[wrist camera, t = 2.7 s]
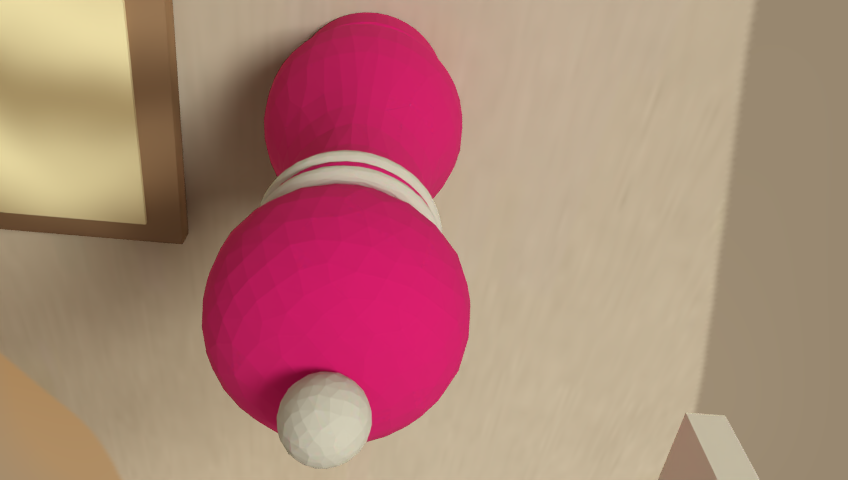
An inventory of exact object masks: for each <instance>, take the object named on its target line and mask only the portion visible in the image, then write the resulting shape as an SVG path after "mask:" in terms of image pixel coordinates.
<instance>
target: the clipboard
mask: <svg viewBox="0 0 848 480" xmlns="http://www.w3.org/2000/svg"><path fill="white" fill-rule="evenodd" d="M0 229H8V230H20V231H32V232H44V233H56V234H67V235H79V236H91V237H103V238H115V239H127V240H139V241H151V242H163V243H175V244H183V242H184V240H185V238H186V236H187V235H188V222H187V208H186V193H185V178H184V164H183V149H182V134H181V120H180V105H179V91H178V76H177V61H176V47H175V32H174V18H173V3H172V0H0Z"/></svg>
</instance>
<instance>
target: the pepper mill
mask: <svg viewBox="0 0 848 480" xmlns="http://www.w3.org/2000/svg"><path fill="white" fill-rule="evenodd" d="M264 131H265V141H266V145H267V150H268V154H269V158H270V161H271V164H272V166H273V168H274V171H275V173H276V175H277V178H276V179H275V180H274V181H273V183H272V184H271V185H270V187H269V188H268V189H267V191H266V193H265V195H264V197H263V199H262V201H261V204H260V207H259V208H257V209H256V210H255V211H253V212H252V213H251V214H250V215H249V216H248V217H247V218H246V219H245V220H244V221H242V222H241V223H240V224H239V225H238V226H237V227H236V228H235V229H234V230H233V231H232V232H231V233H230V235H229V236H228V238H227V239H226V241H225V242H224V244H223V246H222V247H221V249H220V251H219V253H218V255H217V257H216V260H215V262H214V264H213V266H212V268H211V271H210V273H209V276H208V279H207V283H206V288H205V293H204V297H203V313H202V330H203V336H204V341H205V347H206V353H207V356H208V358H209V361H210V363H211V366H212V369H213V370H214V372H215V374H216V376H217V378H218V380H219V381H220V383H221V385H222V387H223V389H224V390H225V391H226V392H227V394H228V395H229V396H230V397H231V398H232V399H233V400H234V401H235V403H236V404H237V405H238V406H239V407H240V408H241V409H242V410H244V411H245V412H246V413H248V414H249V415H250V416H252V417H253V418H254V419H256V420H257V421H259V422H260V423H262V424H264V425H265V426H267V427H269V428H270V429H272V430H274V431H275V432H277V433H278V434H279V438H280V440H281V442H282V444H283V445H284V447H285V449H286V450H287V452H288V454H290V455H291V456H292V457H293V458H294V459H296V460H297V461H299V462H300V463H302V464H304V465H306V466H309V467H313V468H322V469H327V468H332V467H336V466H339V465H341V464H344V463H346V462H348V461H349V460H350V459H351V458H353V457H354V456H355V455H356V454H358V453H359V452H360V450H361V449H362V447H363V446H364V444H365V443H366V442H368V441H371V440H375V439H378V438H382V437H385V436H388V435H390V434H392V433H394V432H396V431H398V430H400V429H402V428H404V427H406V426H408V425H409V424H411V423H412V422H414V421H415V420H416V419H418V418H419V417H421V416H422V415H423V414H424V413H425V412H426V411H427V410H428V409H429V408H431V407H432V406H433V405H434V404H435V403H436V402H437V401H438V400H439V398H440V397H441V396H442V394H443V393H444V391H445V390H446V388H447V387H448V385H449V384H450V382H451V381H452V379H453V378H454V377H455V375H456V374H457V372H458V370H459V367H460V364H461V361H462V357H463V354H464V351H465V347H466V344H467V341H468V336H469V321H470V298H469V292H468V286H467V282H466V279H465V276H464V273H463V270H462V267H461V264H460V261H459V258H458V255H457V253H456V252H455V250H454V249H453V248H452V246H451V245H450V244H449V242H448V241H447V240H446V238H445V237H444V236H443V234H442V225H441V220H440V216H439V213H438V210H437V207H436V205H435V203H434V201H433V198H434V197H435V196H436V194H437V193H438V192H439V191H440V190H441V189H442V187H443V186H444V184H445V182H446V180H447V179H448V177H449V175H450V173H451V172H452V170H453V168H454V166H455V163H456V160H457V157H458V154H459V151H460V144H461V133H462V113H461V106H460V99H459V96H458V93H457V90H456V87H455V85H454V83H453V81H452V79H451V77H450V75H449V73H448V71H447V70H446V69H445V67H444V66H443V65H442V63H441V62H440V61H439V60H438V58H437V56H436V54H435V52H434V50H433V49H432V47H431V46H430V44H429V43H428V42H427V40H426V39H425V38H424V37H423V36H422V35H421V34H420V33H419V32H418V31H417V30H416V29H414V28H413V27H411V26H410V25H408V24H407V23H405V22H403V21H401V20H399V19H397V18H394V17H391V16H389V15H384V14H379V13H369V12H368V13H355V14H350V15H346V16H343V17H340V18H338V19H336V20H334V21H332V22H330V23H328V24H327V25H325V26H324V27H323V28H321V29H320V30H319V31H318V32H317V33H316V34H315V35H314V36H313V37H312V38H311V39H309V40H308V41H306V42H304V43H303V44H302V45H301V46H300V47H298V48H297V49H296V50H295V51H294V52H292V54H291V55H290V56H289V57H288V58H287V60H286V61H285V62H284V63H283V64H282V66H281V68H280V69H279V71H278V73H277V75H276V76H275V78H274V81H273V84H272V87H271V89H270V92H269V96H268V100H267V105H266V111H265V116H264Z"/></svg>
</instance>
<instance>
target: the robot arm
mask: <svg viewBox="0 0 848 480" xmlns="http://www.w3.org/2000/svg"><path fill="white" fill-rule="evenodd" d="M658 480H760V479H759V478H758V476H757V474H756V472H755V470H754V468H753V466H752V465H751V463H750V461H749V459H748V457H747V455H746V454H745V452H744V450H743V448H742V446H741V444H740V442H739V441H738V439H737V437H736V435H735V433H734V431H733V429H732V428H731V426H730V424H729V422H728V420H727V418H726V416H724V415H710V414H697V413H685V416H684V418H683V421H682V423H681V426H680V428H679V430H678V433H677V435H676V438H675V440H674V443H673V445H672V447H671V450H670V452H669V455H668V457H667V460H666V462H665V464H664V467H663V469H662V472H661V474H660V477H659V479H658Z"/></svg>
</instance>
